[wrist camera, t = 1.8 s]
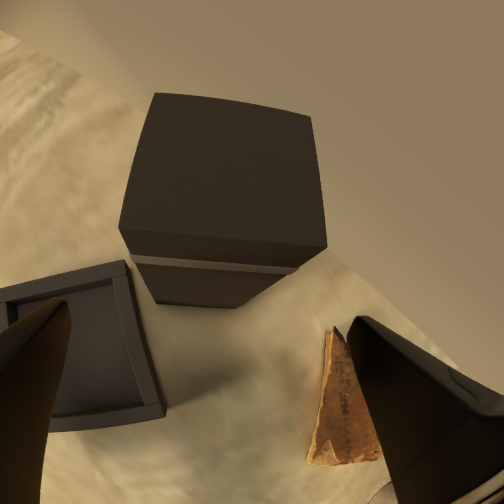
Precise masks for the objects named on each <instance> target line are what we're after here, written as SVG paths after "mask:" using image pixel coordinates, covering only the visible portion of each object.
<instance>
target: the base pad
mask: <svg viewBox="0 0 504 504" xmlns="http://www.w3.org/2000/svg"><path fill="white" fill-rule="evenodd" d="M52 298H62V299H65V300H66V301H67V303H68V307H69V312H70V316H71V320H72V329H71V333H70V338H69V343H68V347H67V352H66V358H65V363H64V368H63V373H62V377H61V380H60V384H59V388H58V392H57V395H56V399H55V404H54V408H53V412H52V417H51V421H50V426H49V431H48V433H50V432H68V431H80V430H90V429H99V428H107V427H114V426H121V425H127V424H133V423H139V422H144V421H149V420H154V419H159V418H164V417H165V416H166V411H167V408H166V405H165V402H164V399H163V396H162V393H161V390H160V387H159V384H158V381H157V378H156V375H155V371H154V368H153V365H152V361H151V358H150V354H149V351H148V347H147V344H146V340H145V336H144V332H143V328H142V324H141V320H140V316H139V312H138V307H137V303H136V298H135V294H134V289H133V284H132V279H131V273H130V269H129V267H128V265H127V263H126V262H125V260H124V259H123V260H119V261H114V262H110V263H105V264H101V265H96V266H92V267H88V268H83V269H79V270H75V271H70V272H66V273H62V274H58V275H53V276H49V277H45V278H41V279H37V280H33V281H28V282H24V283H20V284H16V285H12V286H8V287H4V288H0V333H1V332H2V331H3V330H5V329H6V328H8V327H9V326H11V325H12V324H14V323H15V322H17V321H18V320H20V319H21V318H23V317H24V316H26V315H27V314H29V313H30V312H32V311H33V310H35V309H36V308H38V307H39V306H41V305H43V304H44V303H46V302H47V301H49V300H50V299H52Z"/></svg>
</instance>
